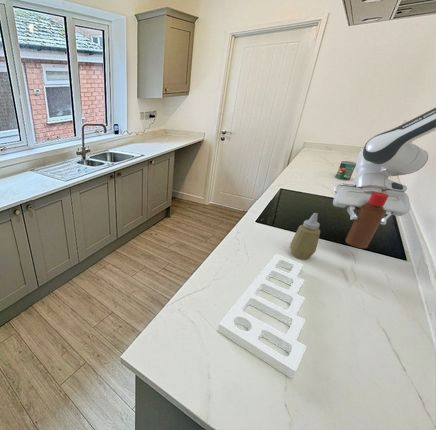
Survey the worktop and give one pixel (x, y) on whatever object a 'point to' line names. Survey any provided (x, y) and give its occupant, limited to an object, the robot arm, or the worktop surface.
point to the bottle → (365, 225)
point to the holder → (262, 329)
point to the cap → (378, 199)
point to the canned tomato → (345, 170)
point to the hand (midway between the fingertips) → (367, 221)
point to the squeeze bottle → (306, 238)
